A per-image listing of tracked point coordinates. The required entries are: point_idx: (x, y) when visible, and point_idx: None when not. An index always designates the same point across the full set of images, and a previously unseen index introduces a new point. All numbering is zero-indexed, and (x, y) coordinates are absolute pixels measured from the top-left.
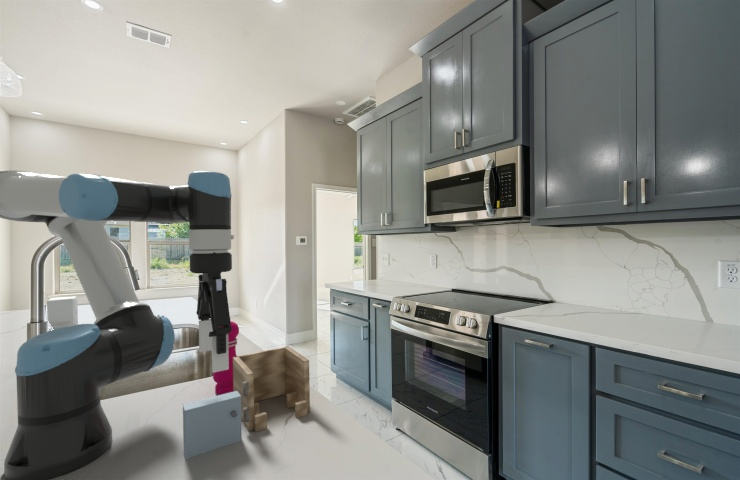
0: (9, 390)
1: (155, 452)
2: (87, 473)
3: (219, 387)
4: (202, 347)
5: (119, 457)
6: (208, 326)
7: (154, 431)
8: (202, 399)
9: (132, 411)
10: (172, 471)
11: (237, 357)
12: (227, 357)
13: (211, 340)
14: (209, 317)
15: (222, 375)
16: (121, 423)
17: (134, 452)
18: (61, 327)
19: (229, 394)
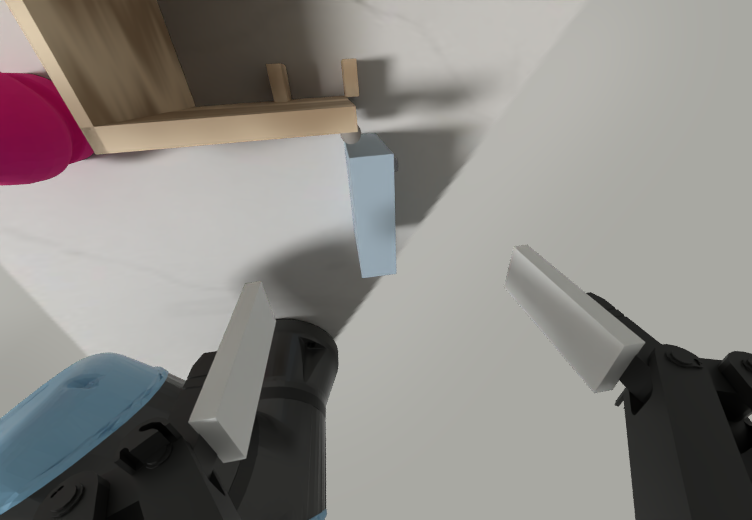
0: None
1: (336, 266)
2: (345, 325)
3: (72, 155)
4: (271, 327)
5: (325, 303)
6: (239, 392)
7: (262, 274)
8: (359, 243)
9: (160, 314)
10: (401, 243)
11: (104, 133)
12: (555, 271)
13: (578, 371)
14: (192, 447)
15: (52, 157)
16: (210, 319)
17: (321, 290)
18: None
19: (364, 182)
